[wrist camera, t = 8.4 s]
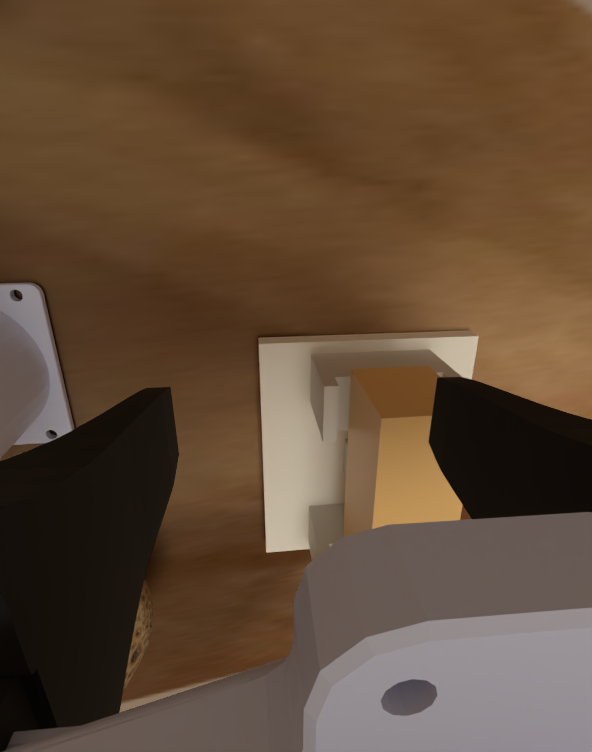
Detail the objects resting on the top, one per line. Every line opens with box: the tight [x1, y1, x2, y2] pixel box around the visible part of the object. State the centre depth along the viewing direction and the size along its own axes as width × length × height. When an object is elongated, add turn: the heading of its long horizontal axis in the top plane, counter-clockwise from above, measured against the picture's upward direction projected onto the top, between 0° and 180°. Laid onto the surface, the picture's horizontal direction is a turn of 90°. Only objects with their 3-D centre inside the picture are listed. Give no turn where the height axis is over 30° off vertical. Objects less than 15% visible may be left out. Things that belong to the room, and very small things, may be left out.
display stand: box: [258, 330, 479, 561], centre depth 22 cm, size 11×13×5 cm
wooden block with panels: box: [343, 366, 462, 537], centre depth 19 cm, size 3×12×4 cm, turn 0°
